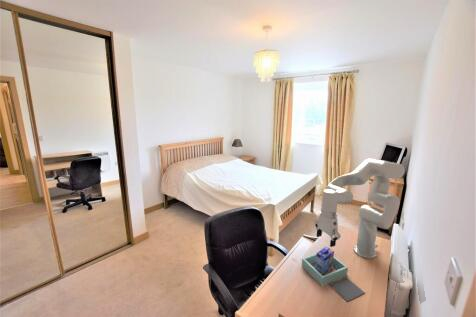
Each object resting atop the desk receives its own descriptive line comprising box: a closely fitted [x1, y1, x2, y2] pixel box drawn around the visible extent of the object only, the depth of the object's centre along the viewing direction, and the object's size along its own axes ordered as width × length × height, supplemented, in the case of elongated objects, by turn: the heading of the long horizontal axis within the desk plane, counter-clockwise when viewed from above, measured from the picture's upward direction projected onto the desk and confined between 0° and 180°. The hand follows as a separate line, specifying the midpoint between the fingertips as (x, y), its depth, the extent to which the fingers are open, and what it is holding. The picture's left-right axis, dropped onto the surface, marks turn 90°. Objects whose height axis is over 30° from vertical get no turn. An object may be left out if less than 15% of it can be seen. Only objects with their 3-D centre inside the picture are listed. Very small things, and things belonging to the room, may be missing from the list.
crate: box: [301, 252, 349, 286], centre depth 119 cm, size 18×16×5 cm
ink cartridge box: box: [314, 246, 335, 276], centre depth 118 cm, size 10×6×14 cm, turn 127°
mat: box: [328, 276, 366, 303], centre depth 107 cm, size 12×11×1 cm
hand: (325, 241), depth 115 cm, fingers open, 9 cm apart
